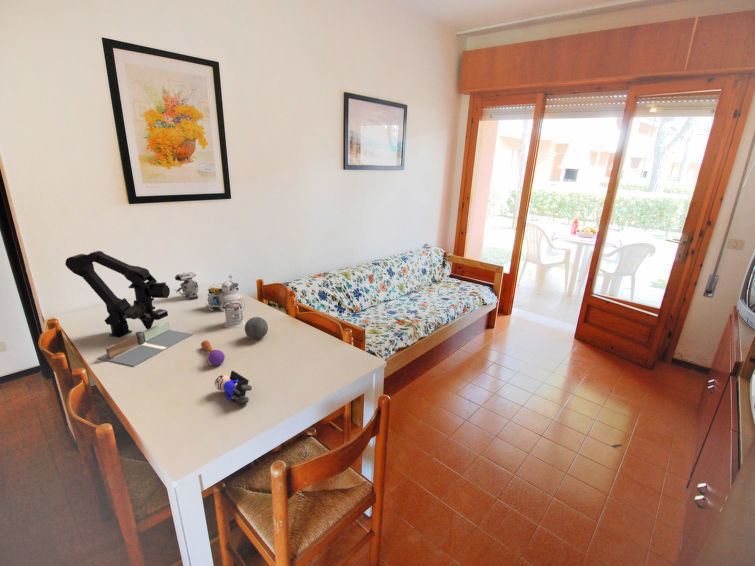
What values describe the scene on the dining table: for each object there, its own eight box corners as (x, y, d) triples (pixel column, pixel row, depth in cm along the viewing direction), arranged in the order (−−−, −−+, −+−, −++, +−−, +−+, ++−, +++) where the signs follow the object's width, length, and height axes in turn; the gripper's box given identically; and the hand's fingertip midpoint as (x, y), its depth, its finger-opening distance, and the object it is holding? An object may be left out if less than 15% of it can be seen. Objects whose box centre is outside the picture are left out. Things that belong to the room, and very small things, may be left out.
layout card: (97, 358, 144) (97, 357, 144) (160, 328, 172) (160, 328, 172) (133, 366, 140) (133, 365, 140) (192, 334, 167) (192, 333, 167)
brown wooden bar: (106, 358, 144) (104, 346, 142) (141, 341, 158) (139, 331, 157) (111, 359, 143) (109, 348, 142) (145, 342, 158) (144, 332, 156)
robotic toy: (235, 312, 194) (232, 285, 189) (202, 311, 194) (199, 284, 189) (243, 304, 206) (241, 278, 202) (212, 303, 206) (210, 277, 202)
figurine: (174, 298, 211) (170, 273, 206) (195, 294, 219) (192, 269, 214) (180, 302, 205) (176, 276, 200) (201, 298, 213) (198, 273, 208)
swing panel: (143, 340, 158) (141, 332, 157) (167, 329, 170) (166, 320, 169) (145, 341, 158) (144, 332, 157) (169, 329, 170) (168, 321, 169)
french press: (219, 325, 178) (214, 275, 171) (236, 317, 188) (232, 270, 181) (235, 329, 174) (231, 278, 167) (252, 320, 185) (248, 272, 177)
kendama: (213, 337, 158) (227, 352, 142) (212, 350, 158) (225, 367, 143) (198, 337, 154) (210, 353, 138) (197, 351, 155) (209, 368, 139)
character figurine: (238, 411, 117) (214, 393, 126) (257, 400, 123) (233, 383, 131) (234, 391, 115) (210, 374, 123) (254, 380, 120) (230, 364, 129)
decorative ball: (240, 339, 164) (238, 319, 161) (257, 331, 173) (255, 312, 170) (257, 345, 160) (255, 324, 157) (273, 336, 168) (272, 316, 166)
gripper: (109, 300, 156) (115, 333, 161) (144, 306, 151) (150, 340, 156) (132, 292, 166) (138, 324, 171) (166, 297, 162) (171, 330, 166)
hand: (148, 329), depth 166 cm, fingers closed
